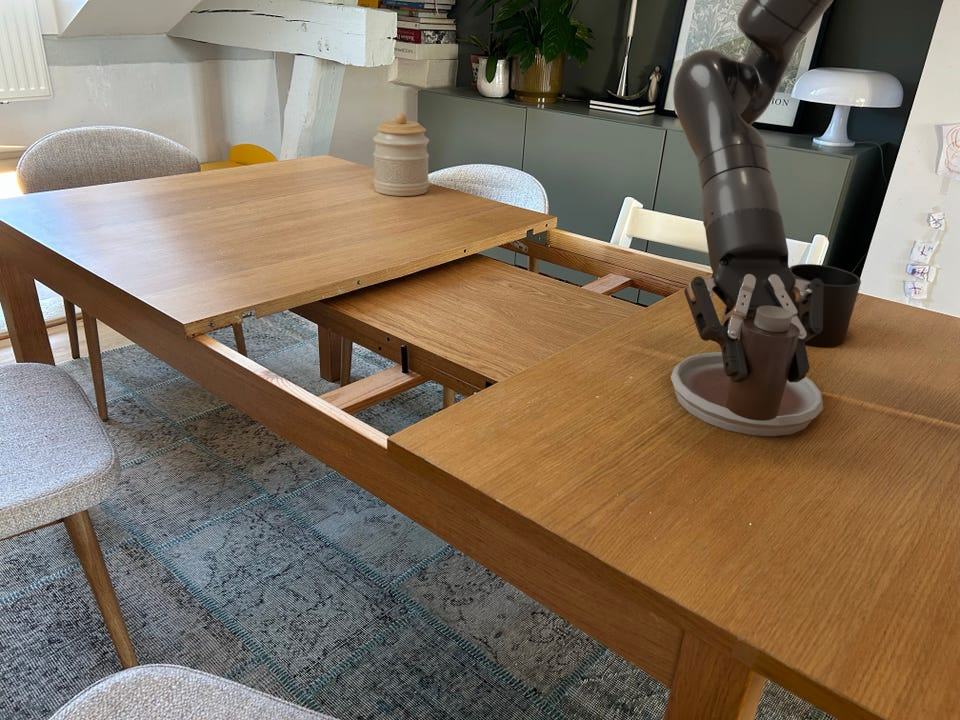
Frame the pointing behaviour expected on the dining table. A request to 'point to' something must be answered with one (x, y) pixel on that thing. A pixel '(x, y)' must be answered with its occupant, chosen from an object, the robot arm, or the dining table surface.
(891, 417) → the dining table surface
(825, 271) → the mug
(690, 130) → the robot arm
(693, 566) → the dining table surface
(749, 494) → the dining table surface
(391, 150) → the jar
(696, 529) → the dining table surface
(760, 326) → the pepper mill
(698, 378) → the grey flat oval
